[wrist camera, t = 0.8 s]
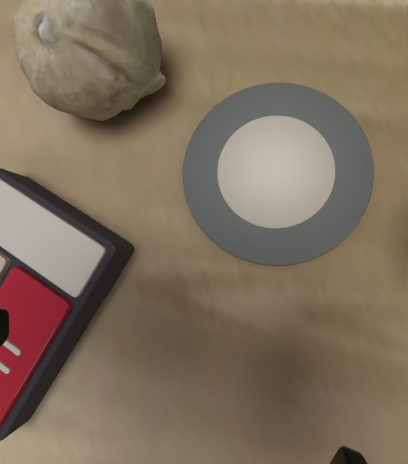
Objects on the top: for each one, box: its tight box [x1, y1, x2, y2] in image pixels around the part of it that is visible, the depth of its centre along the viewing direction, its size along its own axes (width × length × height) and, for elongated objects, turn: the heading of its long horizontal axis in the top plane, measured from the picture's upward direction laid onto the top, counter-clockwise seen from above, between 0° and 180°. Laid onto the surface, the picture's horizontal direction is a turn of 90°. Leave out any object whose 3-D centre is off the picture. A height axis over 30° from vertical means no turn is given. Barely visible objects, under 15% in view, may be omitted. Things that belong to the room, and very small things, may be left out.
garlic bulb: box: [13, 0, 166, 121], centre depth 20 cm, size 9×8×10 cm
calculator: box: [0, 168, 134, 441], centre depth 22 cm, size 11×4×15 cm
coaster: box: [183, 83, 374, 265], centre depth 22 cm, size 13×13×1 cm
